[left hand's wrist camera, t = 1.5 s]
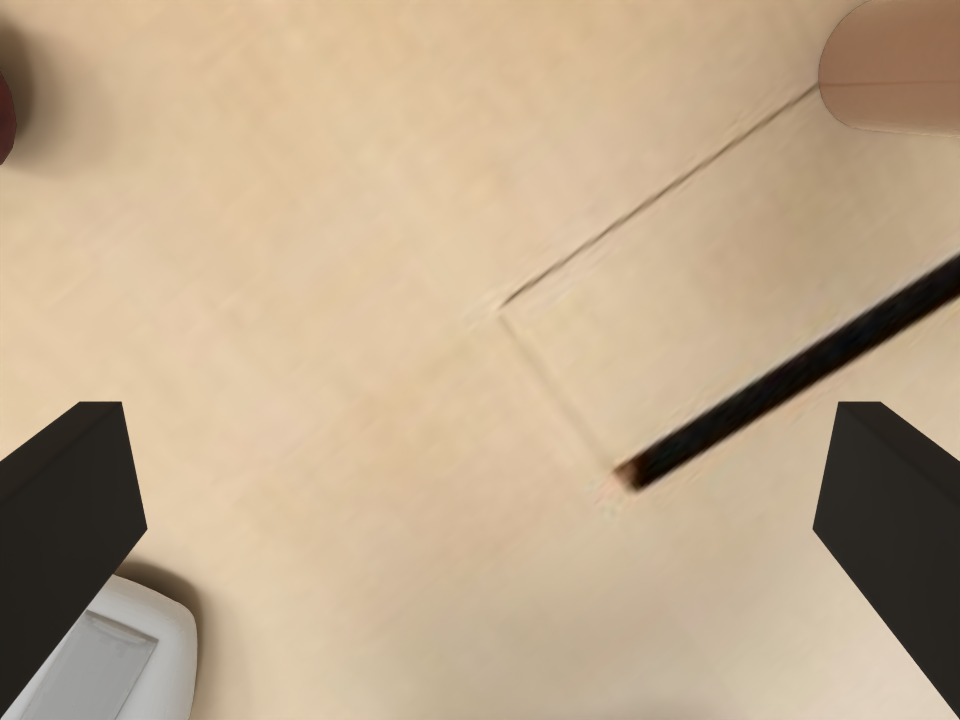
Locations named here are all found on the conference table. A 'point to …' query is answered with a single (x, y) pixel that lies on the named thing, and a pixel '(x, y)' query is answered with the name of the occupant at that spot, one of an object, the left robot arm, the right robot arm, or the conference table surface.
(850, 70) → the bottle
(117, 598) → the projector
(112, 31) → the conference table surface
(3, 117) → the maroon ball
